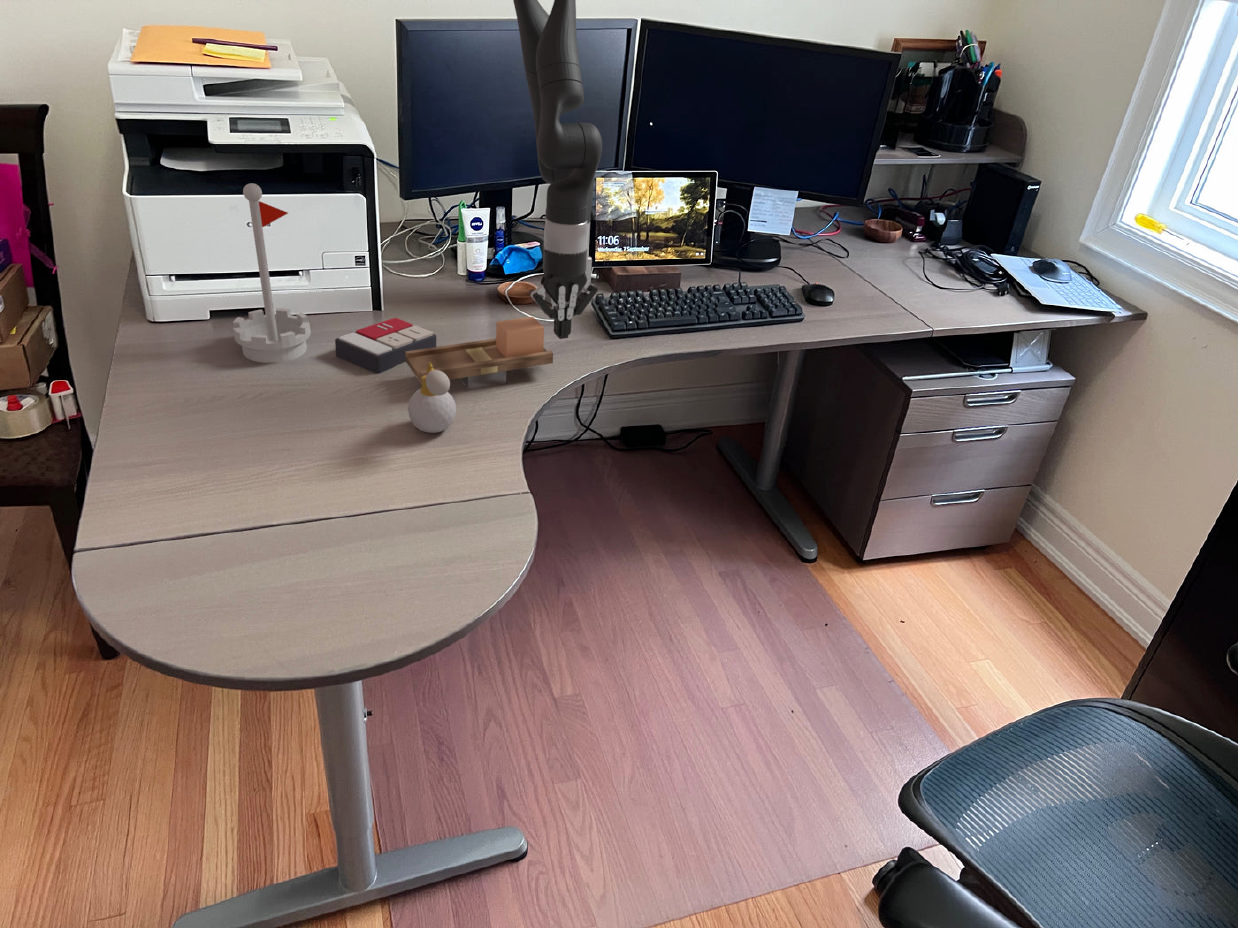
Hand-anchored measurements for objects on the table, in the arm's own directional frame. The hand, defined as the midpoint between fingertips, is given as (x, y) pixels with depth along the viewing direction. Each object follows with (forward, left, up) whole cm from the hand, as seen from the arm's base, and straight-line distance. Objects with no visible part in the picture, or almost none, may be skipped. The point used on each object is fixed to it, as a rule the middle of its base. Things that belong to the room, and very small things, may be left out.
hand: (561, 337), depth 165 cm
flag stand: (+47, -23, -6) cm, 52 cm away
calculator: (+28, -16, -6) cm, 33 cm away
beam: (+16, 0, -6) cm, 17 cm away
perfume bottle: (+29, +15, -6) cm, 33 cm away
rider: (+8, 0, -1) cm, 8 cm away
